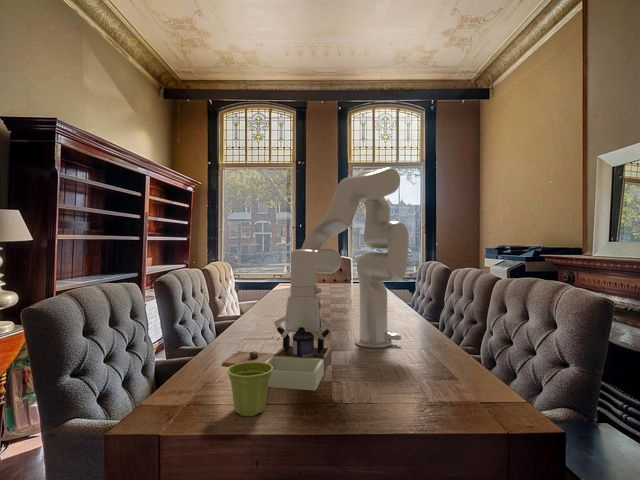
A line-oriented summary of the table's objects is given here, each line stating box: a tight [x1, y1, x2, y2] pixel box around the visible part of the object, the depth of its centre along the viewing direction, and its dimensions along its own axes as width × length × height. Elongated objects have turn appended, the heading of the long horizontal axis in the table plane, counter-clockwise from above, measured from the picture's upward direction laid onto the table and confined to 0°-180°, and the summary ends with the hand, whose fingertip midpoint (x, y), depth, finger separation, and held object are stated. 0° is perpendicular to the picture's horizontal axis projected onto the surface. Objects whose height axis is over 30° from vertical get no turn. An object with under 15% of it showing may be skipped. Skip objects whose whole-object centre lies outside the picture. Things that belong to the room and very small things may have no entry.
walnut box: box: [273, 344, 332, 373], centre depth 108 cm, size 15×12×4 cm
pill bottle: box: [292, 327, 315, 357], centre depth 108 cm, size 6×6×11 cm
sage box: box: [265, 356, 325, 392], centre depth 95 cm, size 15×12×4 cm
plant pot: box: [226, 362, 273, 417], centre depth 78 cm, size 9×9×9 cm
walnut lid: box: [221, 350, 277, 367], centre depth 111 cm, size 15×12×2 cm
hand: (303, 351), depth 108 cm, fingers open, 9 cm apart
